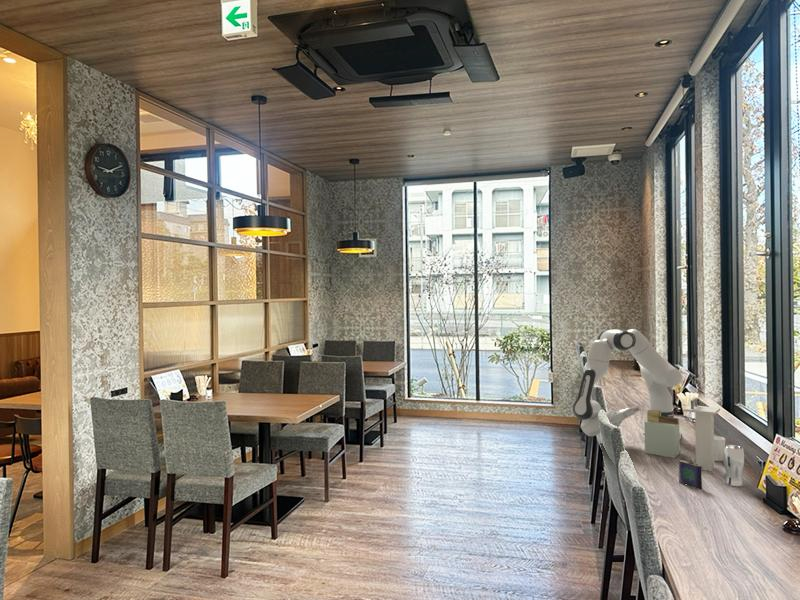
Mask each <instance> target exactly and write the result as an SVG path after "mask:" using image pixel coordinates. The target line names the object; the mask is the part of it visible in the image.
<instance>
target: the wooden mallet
mask: <svg viewBox="0 0 800 600" xmlns="http://www.w3.org/2000/svg"><path fill="white" fill-rule="evenodd" d="M649 409H650V408H649ZM649 409H648V410H647V411H646V419H647V421H650V422H657V423H659V422H662V423H669V424H679V425H680V421H679V418H678V417H674V418H672V417H664V416H661V410H652V409H650V410H649Z"/></svg>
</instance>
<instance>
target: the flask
mask: <svg viewBox="0 0 800 600" xmlns="http://www.w3.org/2000/svg"><path fill="white" fill-rule="evenodd" d="M702 475H703V474H702V469H701V465H698V464H697V463H696V462H695V461H693V458H687V460H684V459H683V460H682V459H681V460H678V482H679V483H680V484H681V483H683V484H682V485H685V484H687V485H689V486H688V487H691V488H694V489H697V490H702V489H703V481H702V480H703V478H702ZM687 485H686V486H687Z"/></svg>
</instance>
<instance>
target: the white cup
mask: <svg viewBox="0 0 800 600" xmlns="http://www.w3.org/2000/svg"><path fill="white" fill-rule="evenodd" d="M724 445H726V438H725V437H723V436H719V435H714V462H724V458H723V453H724Z"/></svg>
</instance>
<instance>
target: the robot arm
mask: <svg viewBox="0 0 800 600" xmlns="http://www.w3.org/2000/svg"><path fill="white" fill-rule="evenodd" d="M588 349H589V350H588V351H587V352H588V353H587V357H586V363H585V368H584V372H583V376H582V378H581V382H580V387H579V391H578V395H577V398H576V400H575V401H574V403H573V405H572V412H573V415H574V416H575V417H576V418H577V419H579V420H581V424H580V429H581V430H582V432H583V433H584V434H585V435H587V437H595V436H598V435H601V434H600V428H599V419H598V413H599V411H600V410H602V411H603V409H602V406H601V403H599V401H596V400H594V399H592V396H593V392H594V387H595V385H596V382H598V381H599V380H600V379H601V378H603V377H604V376H606V374H607V372H608V370H609V365H610V361H611V359H610V358H611V354H612V352H613V351H622V352H623V351H629V353H630V354H631V356H632V357H633V358H634V359H635V360H636V362H637V363H638V364H639V366H641V370H640V376H641V377H642V379H643V380H644V382H645V384H646V387H647V390H648V395H649V409H648V410H650V409H652V410H661V416H664V417H672V418H675V413H674V412H675V411H674V410H673V395H672V394H671V392H670V391H669V389H668V388H669V387H671V388H672V387H677V386H679V385H680V384H681V383H682V380H683V375H682V372H681V371H680V370H679V369H678V368H677V367H675V366H673V365H672V364H671V363H670V362H668V361H667V360H666V359H665V358H664V357H663V356H662V355H661V354H659V352H658V351H657V349H655V348H654V346H653V345H652V344H651V343H650V341H649V340H648V339H647V337H646V336H645V335H644V334H643V333H642V332H640V331H639V330H638V329H636V328H631V329H630V328H629V329H628V330H624V329H617V328H615V329H605V330H602V331H601V332H600V333H599V334H598V337H597V339H595V340H593V341H592V342H591V343H590V347H589V348H588ZM639 411H641V408H640V407H639V406H637V407H627V408H625V409H624V408H623V409H619V410H608V411H605V412H604V413H605V414H606V415H607V417H608V419H609V421H610V422H611V423H612V424H613V425H615V426H617V428H619V427H620V425H621V424H622V423H623V422H624V421H625V420H627V419H628V418H630V417H632V416H634V415H635V414H636V413H637V412H639ZM645 421H647V418H646V420H645ZM642 435H645V430H644V431H642ZM681 439H682V432H681V431H680V430H679V440H681Z"/></svg>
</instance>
